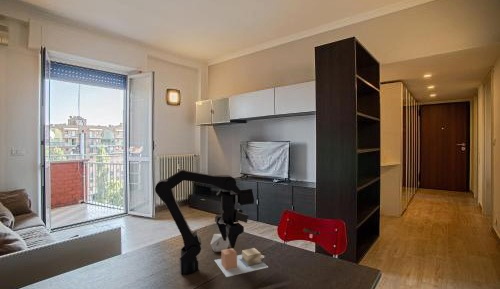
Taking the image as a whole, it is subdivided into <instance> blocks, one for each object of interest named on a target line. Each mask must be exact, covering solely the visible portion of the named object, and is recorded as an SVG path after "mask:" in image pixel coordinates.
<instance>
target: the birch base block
mask: <svg viewBox="0 0 500 289" xmlns="http://www.w3.org/2000/svg"><path fill="white" fill-rule="evenodd" d="M261 254H262V252H260V251H259V250H258V249H256V248H255V247H252V248H248V249H247V248H246V249H243V250H241V255H242V260H243V261H244V262H245V263H246V264H247V265H252V264H256V263H261V261H262V259H261V258H262V256H261Z"/></svg>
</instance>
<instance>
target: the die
mask: <svg viewBox="0 0 500 289" xmlns="http://www.w3.org/2000/svg"><path fill="white" fill-rule="evenodd" d="M210 246H211V248H212V250H213V252H215V253H218V252H219V253H220V252H221V250H225V249H229V246H230V243H229V240H228V237H227V239H226V241H224V240H223V238H222V236H221V233H214V234H213V236H212V238H211V241H210Z"/></svg>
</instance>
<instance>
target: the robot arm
mask: <svg viewBox="0 0 500 289" xmlns="http://www.w3.org/2000/svg"><path fill="white" fill-rule="evenodd" d="M184 181H187V182H192V183H198V184H205V185H210V186H215V187H217V188H220V189H219V191H218V192H216V196H217V197H220V198H221V200H220V201H221V204H220V205H221V207H220V208H219V211H220V212H221V214H216V215H215V217H214V222H215V225H216V226H217V228H218V231H219V234H221V236H222V238H223V240H224V241H226V239H227V238H228V240H229V246H230V248H233V249H235V247H236V243H237V239H238V237H239V236H240V235H242V233H244V232H245V227H244V226H243V224H241V223H239V222H243V223H245V224H246V223H247V224H248V221H249V216H250V215H249V214H247V213H245V212H244V211H243V209H241V208H236V204H238V205H239V206H253V205H254V203H255V197H254V192H253V188H251V187H250V188H240V187H238V186H237V180H236V179H235V178H234V176H231V174H230V175H229V174H218V175H217V174H215V175H213V174H207V173H202V172H198V171H197V172H196V171H190V170H186V169H183V168H182V169H179V170H178V171H177V172H176V173H174V174H173V175H171V176H169V177H168V178H162V179H160V180H159V181H157V183H156V185H155V188H154V192H155V193H156V195H157V196H158V198H159V199H160V200H161V201H162V202H163V203H164V204H165V205H166V207H167V209H168V211H169V213H170V215H171V217H172V219H173V221H174V223H175V225H176V227H177V229H178V230H179V233H180V235H181V237H182V241H183V247H181V249H180V257H179V272H180V273H179V274H180V275H181V276H183V275H185V276H189V275H193V274H194V273H196V272H198V271H199V260H198V257H197V256H199V254H201V251H202V239H201V237H200V236H199V235H198V231H197V230H195V231H193V230H192V229H191V228H190V225H189V223H188V221H187V220H186V217H185V215H184V213H183V212H182V210H181V207H180V205H179V203H178V202H177V200H176V196H175V192H174V188H176V187H177V186H179V184H181V183H182V182H184ZM223 190H224V191H223ZM231 191H232V192H231Z"/></svg>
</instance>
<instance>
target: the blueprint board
mask: <svg viewBox="0 0 500 289" xmlns="http://www.w3.org/2000/svg"><path fill="white" fill-rule="evenodd" d="M214 262H215V264H216V265H217V266H218V267H219V269H220V270H221V271H222V274H224V276H225V277H226V278H229V277H233V276H236V275H237V276H238V275H241V274H246V273H251V272H253V271H258V270H262V269H267V268H269V266H268V265H267V264H266V263H265V262H264V261H262V260H261V263H256V264H252V265H247V264H246V263H245V262H244V261H243V260H242V254H237V267H236V268H232V269H227V270H225V269H224V267H223V266H222V265H221V258H218V259H214Z"/></svg>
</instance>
